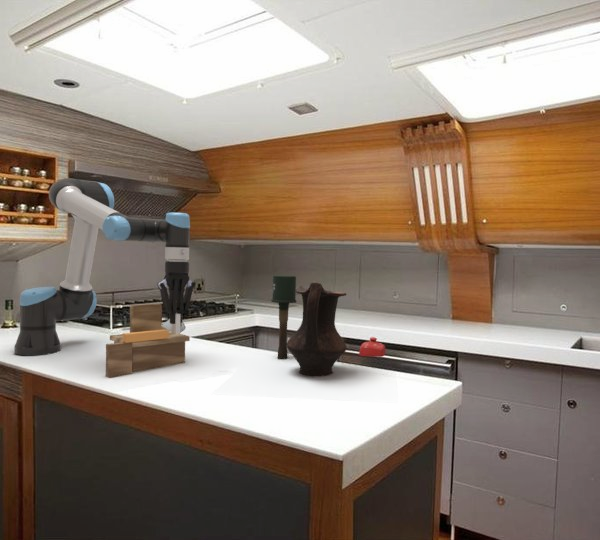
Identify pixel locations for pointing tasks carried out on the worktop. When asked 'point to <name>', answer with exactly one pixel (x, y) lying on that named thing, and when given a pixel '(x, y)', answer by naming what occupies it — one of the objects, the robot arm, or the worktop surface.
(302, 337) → the jug
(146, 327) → the lid
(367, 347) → the butter dish
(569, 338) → the worktop surface
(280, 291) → the stick grenade
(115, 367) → the open wooden box
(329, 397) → the worktop surface
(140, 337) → the orange rectangular block
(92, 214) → the robot arm
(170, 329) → the ceramic mug
